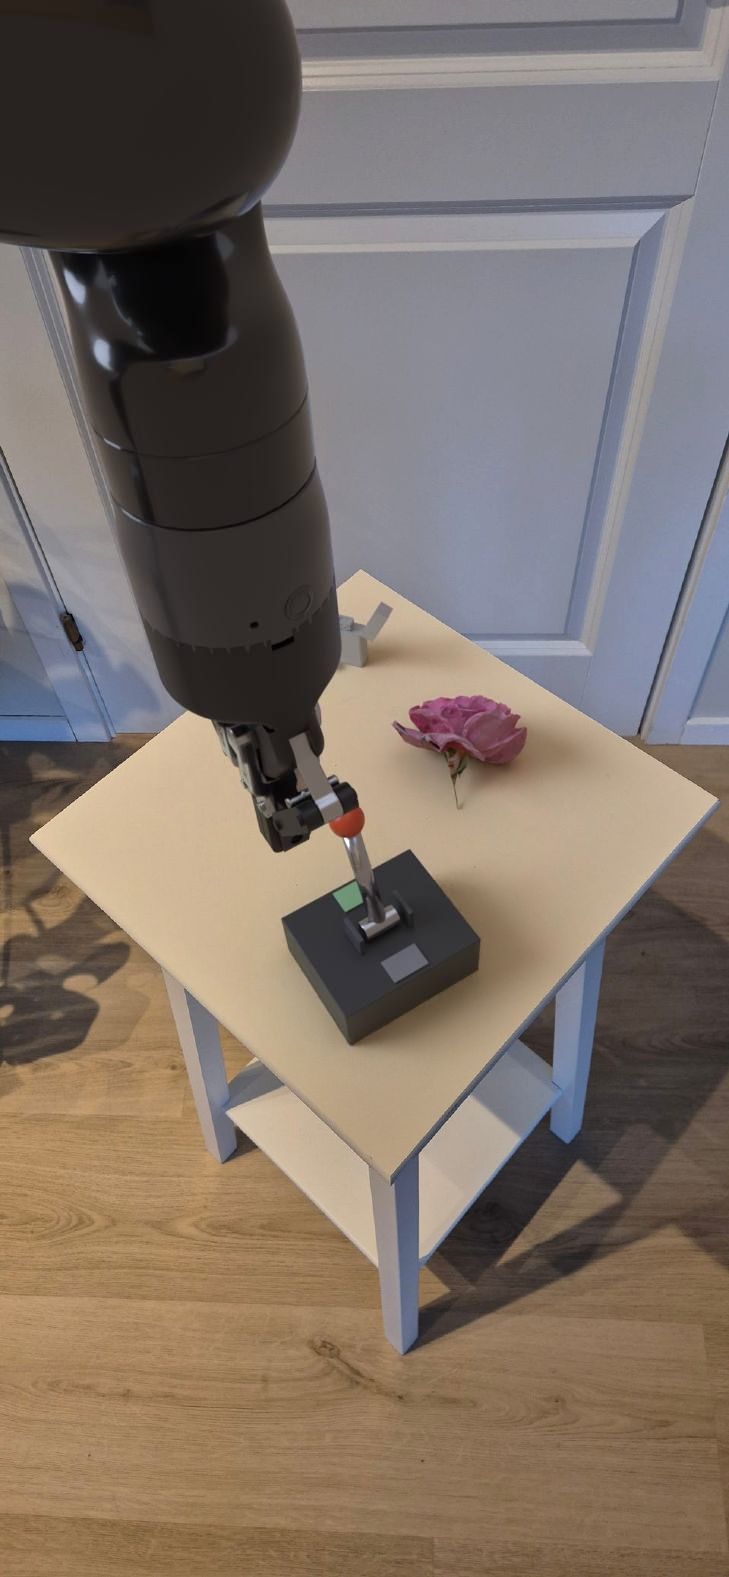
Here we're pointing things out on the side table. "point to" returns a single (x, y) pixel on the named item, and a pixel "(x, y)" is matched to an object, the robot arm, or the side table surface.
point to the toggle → (364, 876)
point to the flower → (465, 731)
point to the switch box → (382, 948)
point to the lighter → (360, 635)
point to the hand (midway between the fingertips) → (286, 836)
